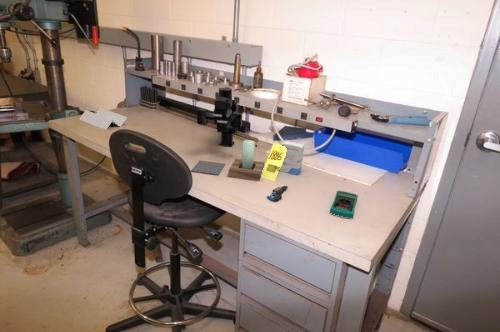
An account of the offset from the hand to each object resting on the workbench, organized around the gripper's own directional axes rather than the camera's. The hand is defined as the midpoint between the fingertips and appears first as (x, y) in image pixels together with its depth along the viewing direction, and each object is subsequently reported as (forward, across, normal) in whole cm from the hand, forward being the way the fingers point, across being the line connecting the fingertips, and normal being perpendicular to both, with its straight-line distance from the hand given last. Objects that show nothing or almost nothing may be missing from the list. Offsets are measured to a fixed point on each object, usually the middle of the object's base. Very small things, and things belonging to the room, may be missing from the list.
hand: (214, 125), depth 135 cm
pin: (+6, +14, +16) cm, 23 cm away
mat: (+6, -1, +16) cm, 17 cm away
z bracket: (-37, -70, +19) cm, 82 cm away
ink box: (-2, +31, +17) cm, 36 cm away
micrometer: (+20, +29, +16) cm, 39 cm away
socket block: (+6, +14, +16) cm, 23 cm away
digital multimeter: (+23, +50, +16) cm, 58 cm away
